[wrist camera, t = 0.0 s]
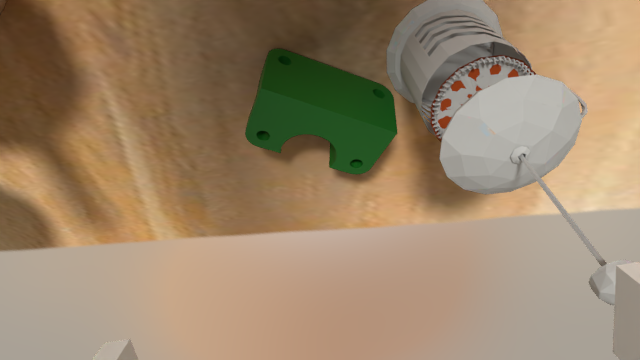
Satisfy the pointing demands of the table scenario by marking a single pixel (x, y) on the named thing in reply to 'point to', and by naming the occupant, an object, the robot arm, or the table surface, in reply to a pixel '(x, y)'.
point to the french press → (487, 106)
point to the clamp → (322, 110)
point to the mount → (2, 5)
